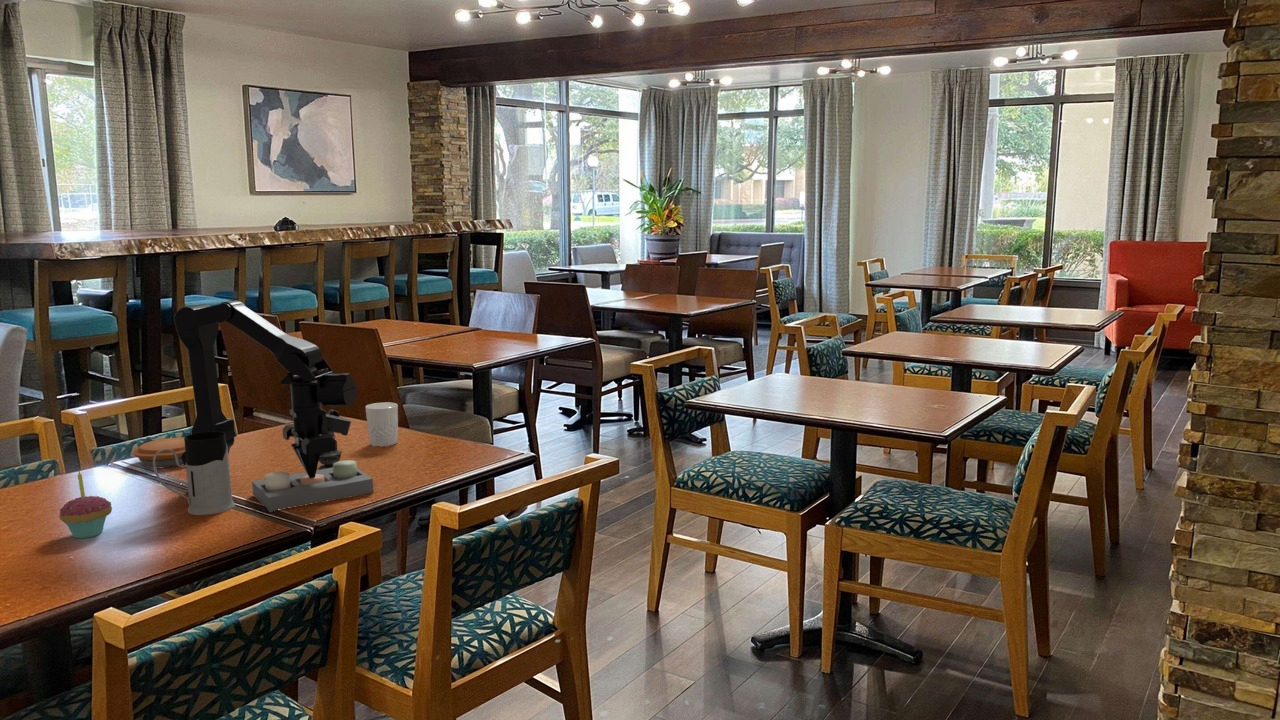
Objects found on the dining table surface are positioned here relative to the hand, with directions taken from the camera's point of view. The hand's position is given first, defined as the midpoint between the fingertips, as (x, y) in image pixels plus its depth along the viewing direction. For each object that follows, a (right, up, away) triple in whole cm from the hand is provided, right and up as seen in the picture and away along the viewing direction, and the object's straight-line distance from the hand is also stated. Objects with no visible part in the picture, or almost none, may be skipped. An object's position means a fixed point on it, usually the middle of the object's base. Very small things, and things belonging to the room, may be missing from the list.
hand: (312, 477), depth 195 cm
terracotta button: (0, -3, +1) cm, 3 cm away
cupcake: (-34, -8, -22) cm, 41 cm away
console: (0, -4, +1) cm, 4 cm away
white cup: (+4, +3, +42) cm, 42 cm away
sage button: (+6, -1, +4) cm, 7 cm away
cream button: (-6, -2, -4) cm, 7 cm away
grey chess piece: (-3, -1, +20) cm, 20 cm away
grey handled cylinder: (-20, -6, -10) cm, 23 cm away
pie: (-44, 0, +28) cm, 52 cm away
